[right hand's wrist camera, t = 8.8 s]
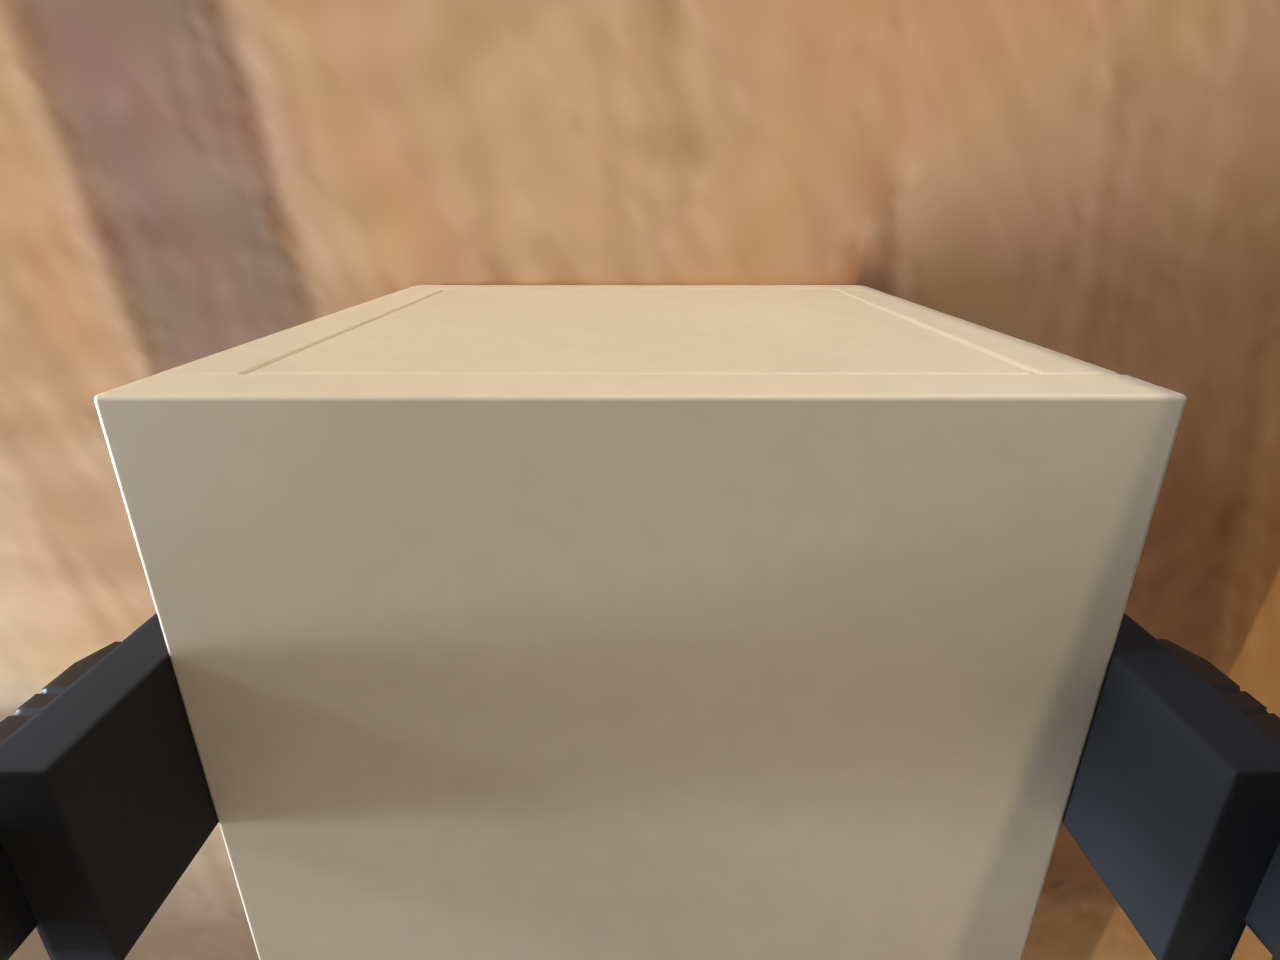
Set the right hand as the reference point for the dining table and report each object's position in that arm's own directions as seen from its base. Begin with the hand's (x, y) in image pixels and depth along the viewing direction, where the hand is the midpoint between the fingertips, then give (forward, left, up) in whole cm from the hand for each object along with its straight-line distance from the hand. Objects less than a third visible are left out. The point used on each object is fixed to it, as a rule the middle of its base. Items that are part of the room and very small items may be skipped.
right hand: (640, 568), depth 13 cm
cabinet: (+1, -6, -6) cm, 9 cm away
